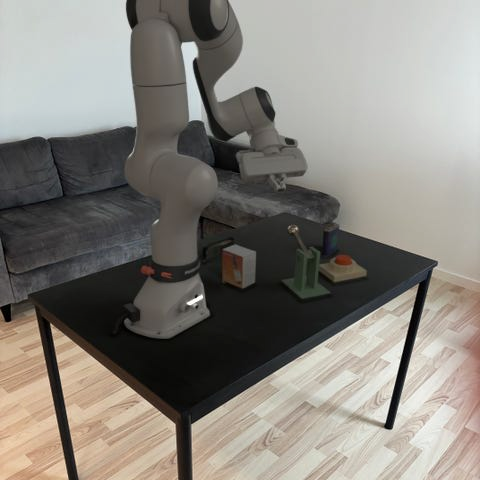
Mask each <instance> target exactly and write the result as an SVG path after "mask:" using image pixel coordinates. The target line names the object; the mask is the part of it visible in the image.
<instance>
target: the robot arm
mask: <svg viewBox="0 0 480 480" xmlns="http://www.w3.org/2000/svg"><path fill="white" fill-rule="evenodd" d="M125 15H126V19H127V22H128V25H129V28H130V30H131V32H130V38H129V39H130V41H129V65H130V78H131V86H132V94H133V102H134V111H135V117H136V118H135V121H136V133H135V139H134V140H135V141H134V145H133V150H132V152H131V153H130V154H129V155H128V157H127V158H126V160H125V163H124V171H123V172H124V177H125V180H126V182H127V184H128V186H130V187H131V188H132V189H133V190H135V191H136V192H138V193H139V194H141V195H142V196H145V197H147V198H150V199H153V200H157V201H159V203H160V214H159V218H158V219H157V220H155V221H154V222H153V223H152V224H151V226H150V228H149V236H150V237H149V238H150V247H151V248H150V249H151V258H150V261H149V266H147V265H142V267H141V269H140V272H141V273H142V274H143V275H147V276H148V277H147V279H146V280H145V282H144V283H143V285H142V287H141V289H140V290H139V291H138V293H137V295H136V296H135V298H134V300H133V303H132V302H130V303H126V304H123V305H122V308H123V314H122V315H121V316H119V317H118V319H117V320H116V321H115V322H114V329H113V330H112V331H111V334H112V335H113V336H115V335H117V334H118V332H119V326H120V324H121V322H123V325H124V327H125V328H127V329H128V330H129V331H131V332H133V333H135V334H138V335H141V336H143V337H148V338H152V339H157V340H158V339H160V340H161V339H162V340H167V339H171V338H173V337H175V336H177V335H178V334H180V333H182V332H184V331H185V330H187V329H189V328H191V327H193V326H195V325H196V324H198V323H200V322H202V321H204V320H205V319H208V318H209V317H210V316H211V311H210V310H209V308H208V307H207V302H206V301H207V300H206V293H205V287H204V283H203V281H202V279H201V276H200V270H201V261H200V255H199V254H198V225H199V221H200V218H201V215H202V213H203V211H204V210H205V208H207V207H209V205H211V203H212V202H213V201H214V200H215V198H216V196H217V193H218V187H219V186H218V185H219V182H218V181H219V180H218V176H217V174H216V171H215V169H214V168H213V167H212V166H210V165H209V164H207V163H205V162H204V161H202V160H200V159H198V158H197V157H194V156H189V155H184V154H180V153H179V152H178V141H179V137H180V135H181V132H183V131H184V130H185V129H186V128H187V127H188V125H189V123H190V110H189V108H190V107H189V98H188V97H189V96H188V83H187V73H186V66H185V60H184V54H183V50H182V45H183V43H184V44H185V43H194V46H195V48H196V53H195V57H194V58H193V60H192V71H193V75H194V80H195V83H196V85H197V89H198V93H199V96H200V99H201V101H202V103H203V107H204V111H205V114H206V120H207V121H206V122H207V125H208V129H209V132H210V133H211V134H212V136H213V137H214V138H215V139H216V140H219V141H220V142H221V141H222V142H228V141H230V140H232V139H234V138H235V137H237V136H239V135H241V134H243V133H246V134H247V136H248V138H249V145H250V148H251V149H250V148H249V149H240V150H239V151H238V152H236V154H235V158H236V162H237V164H238V166H239V167H238V168H239V173H240V178H241V180H242V181H244V182H246V183H247V182H248V183H249V182H257V181H267V184H269V185H270V186H271V187H272V188H273V190H274V192H275V193H277V192H278V193H279V192H285V191H286V189H287V186H286V181H287V179H288V178H299V177H303V176H304V175H305V174H306V173H307V171H308V162H307V159H306V157H305V154H304V153H303V151H302V149H300V148H299V147H298V146H299V141H298V139H295V138H291V137H288V136H284V135H282V134H279V131H278V130H277V128H276V121H275V119H276V111H275V108H274V105H273V101H272V98H271V96H270V94H269V92H268V91H267V90H266V89H264V88H262V87H260V86H254V87H250V88H248V89H246V90H244V91H242V92H239V93H238V94H236V95H234V96H231V97H229V98H227V99H225V100H222V101H219V100H218V98H217V95H216V91H215V86H216V84H217V83H218V82H219V80H220V79H221V78H222V77H223V76H224V75H225V74H226V73H227V72H228V71H229V70H230V69H232V68H233V67H234V66H235V64H236V63H237V61H238V59H239V58H240V56H241V53H242V51H243V46H244V36H243V33H242V30H241V25H240V22H239V20H238V18H237V16H236V13H235V11H234V8H233V6H232V5H231V3H230V1H229V0H126V2H125ZM276 180H278V182H279V183H278V182H277V181H276Z"/></svg>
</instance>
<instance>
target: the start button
mask: <svg viewBox="0 0 480 480" xmlns="http://www.w3.org/2000/svg"><path fill="white" fill-rule="evenodd" d="M335 258H336V262H335V263H336V264H338V265H345V266H346V265H350V264H351V259H352V257H351V256H350V255H348V254H338V255H336V256H335Z"/></svg>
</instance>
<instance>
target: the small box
mask: <svg viewBox="0 0 480 480" xmlns="http://www.w3.org/2000/svg"><path fill="white" fill-rule="evenodd" d="M221 257H222V258H221V261H222V267H221V268H222V269H221V275H222V276H221V278H222V279H221V281H222V282H221V283H222V284H226V283H228V284H230V285H232V286H235V287H238V288H240V289H244V288H247V287H249V286H251V285H253V284H255V283H256V264H257V251H255V250H252V249H249V248H247V247H243V246H241V245H238V244H237V243H236V244H235V243H234V245H232V246H230V247H227V248H225V249H222V254H221Z"/></svg>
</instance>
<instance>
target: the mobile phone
mask: <svg viewBox="0 0 480 480" xmlns="http://www.w3.org/2000/svg"><path fill="white" fill-rule="evenodd" d="M232 245H235V238H234V237H233V236H227V237H224V238H220V239H217V240H213V241H211V242H207V243H206V244H205V245H204V246H203V247H202V258H203V259H204V260H202V263H203V264H204V263H206V262H207V260H209V259H212V258H215V257H218V256H222V249H225V248H227V247H230V246H232Z"/></svg>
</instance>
